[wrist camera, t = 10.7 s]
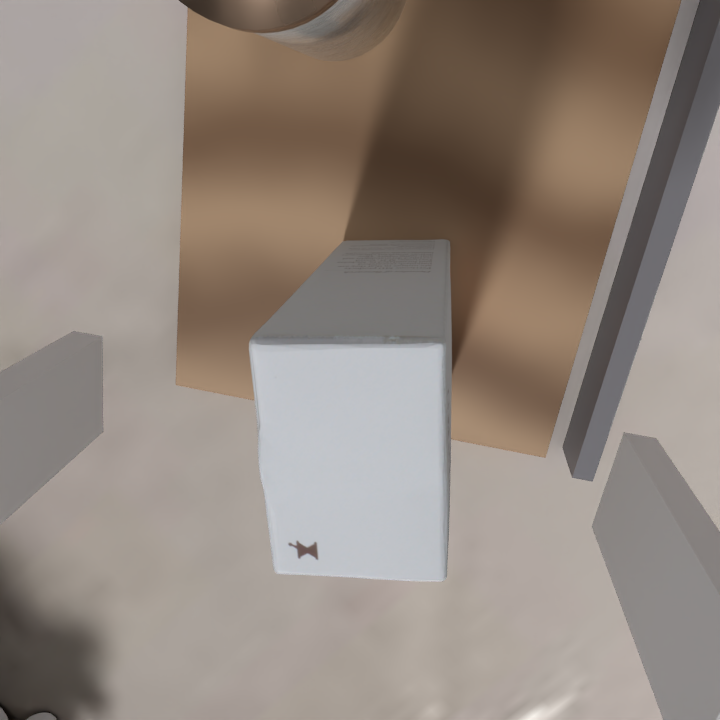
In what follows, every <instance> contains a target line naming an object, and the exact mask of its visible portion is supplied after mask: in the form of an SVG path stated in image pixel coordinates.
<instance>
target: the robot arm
mask: <svg viewBox="0 0 720 720" xmlns="http://www.w3.org/2000/svg"><path fill="white" fill-rule="evenodd" d="M102 432H103V352H102V336H98V335H92V334H87V333H81V332H76V331H73V332H71V333H69V334H67V335H66V336H64V337H62V338H60V339H59V340H57V341H55V342H53V343H51V344H50V345H48V346H46V347H44V348H42V349H41V350H39V351H37V352H35V353H33V354H32V355H30V356H28V357H26V358H25V359H23V360H21V361H19V362H17V363H16V364H14V365H12V366H10V367H8V368H7V369H5V370H3V371H1V372H0V525H1V524H2V523H3V522H4V521H5V520H6V519H7V518H8V517H9V516H10V515H12V514H13V513H14V512H15V511H16V510H17V509H18V508H19V507H20V506H22V505H23V504H24V503H25V502H26V501H27V500H28V499H29V498H30V497H32V496H33V495H34V494H35V493H36V492H37V491H38V490H39V489H40V488H41V487H43V486H44V485H45V484H46V483H47V482H48V481H49V480H50V479H51V478H53V477H54V476H55V475H56V474H57V473H58V472H59V471H60V470H61V469H62V468H64V467H65V466H66V465H67V464H68V463H69V462H70V461H71V460H72V459H74V458H75V457H76V456H77V455H78V454H79V453H80V452H81V451H82V450H83V449H85V448H86V447H87V446H88V445H89V444H90V443H91V442H92V441H93V440H95V439H96V438H97V437H98V436H99V435H100V434H101V433H102ZM592 528H593V531H594V534H595V536H596V539H597V542H598V544H599V547H600V550H601V553H602V555H603V558H604V561H605V563H606V566H607V569H608V571H609V574H610V577H611V580H612V582H613V585H614V588H615V590H616V593H617V596H618V598H619V601H620V604H621V607H622V609H623V612H624V615H625V617H626V620H627V623H628V625H629V628H630V631H631V634H632V636H633V639H634V642H635V644H636V647H637V650H638V652H639V655H640V658H641V661H642V663H643V666H644V669H645V671H646V674H647V677H648V679H649V682H650V685H651V688H652V690H653V693H654V696H655V698H656V701H657V704H658V706H659V709H660V712H661V715H662V717H663V720H720V531H719V530H718V528H717V527H716V525H715V524H714V523H713V521H712V520H711V518H710V517H709V515H708V514H707V512H706V511H705V509H704V508H703V506H702V505H701V503H700V502H699V500H698V499H697V497H696V496H695V495H694V493H693V492H692V490H691V489H690V487H689V486H688V484H687V483H686V481H685V480H684V478H683V477H682V475H681V474H680V472H679V471H678V470H677V468H676V467H675V465H674V464H673V462H672V461H671V459H670V458H669V456H668V455H667V453H666V452H665V450H664V449H663V447H662V446H661V445H660V443H659V442H658V440H657V439H656V438H652V437H647V436H641V435H636V434H630V433H625V432H624V434H623V437H622V440H621V443H620V445H619V448H618V451H617V454H616V457H615V460H614V463H613V466H612V469H611V472H610V475H609V478H608V481H607V483H606V486H605V489H604V492H603V495H602V498H601V501H600V504H599V507H598V510H597V513H596V516H595V519H594V521H593V524H592Z"/></svg>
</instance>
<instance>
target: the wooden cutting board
mask: <svg viewBox="0 0 720 720" xmlns="http://www.w3.org/2000/svg"><path fill="white" fill-rule="evenodd" d="M680 3H681V0H406V3H405V6H404V9H403V11H402V13H401V15H400V18H399V20H398V21H397V23H396V25H395V26H394V28H393V29H392V31H391V32H390V33H389V34H388V36H387V37H386V38H385V39H384V40H383V41H382V42H381V43H380V44H379V45H378V46H376V47H375V48H374V49H372V50H371V51H369V52H367V53H365V54H364V55H362V56H359V57H356V58H354V59H350V60H345V61H324V60H320V59H316V58H313V57H310V56H308V55H305V54H303V53H301V52H298V51H296V50H293V49H291V48H289V47H286V46H284V45H281V44H279V43H277V42H274V41H272V40H269V39H267V38H265V37H262V36H260V35H258V34H255V33H250V32H244V31H240V30H235V29H232V28H229V27H226V26H224V25H221V24H218V23H216V22H213V21H211V20H208V19H206V18H205V17H203V16H201V15H199V14H197V13H196V12H194V11H192V10H191V9H190V8H188V18H187V49H186V80H185V111H184V142H183V174H182V205H181V236H180V267H179V299H178V330H177V361H176V385H179V386H184V387H189V388H194V389H199V390H204V391H209V392H214V393H219V394H224V395H229V396H234V397H239V398H245V399H250V400H254V390H253V382H252V373H251V364H250V355H249V342H250V339H251V337H252V336H253V335H254V334H255V333H256V332H257V331H258V330H259V329H260V328H261V327H262V326H263V325H264V324H265V323H266V322H267V321H268V320H269V319H270V318H271V317H272V316H273V315H274V314H275V313H276V312H277V311H278V310H279V308H280V307H281V306H282V305H283V304H284V303H285V302H286V301H287V300H288V299H289V298H290V297H291V296H292V295H293V294H294V293H295V292H296V291H297V290H298V289H299V288H300V286H301V285H302V284H303V283H304V282H305V281H306V280H307V279H308V278H309V277H310V276H311V275H312V274H313V272H314V271H315V270H316V269H317V268H318V267H319V266H320V265H321V264H322V263H323V262H324V261H325V260H326V259H327V257H328V256H329V255H330V254H331V253H332V252H333V251H334V250H335V249H336V248H337V247H338V246H339V245H340V244H341V243H342V242H343V241H354V240H436V239H445V240H449V241H450V280H451V322H452V395H451V439H453V440H458V441H463V442H468V443H473V444H478V445H483V446H488V447H493V448H499V449H504V450H509V451H514V452H519V453H524V454H529V455H534V456H539V457H544V458H545V457H546V454H547V450H548V447H549V444H550V440H551V437H552V433H553V430H554V427H555V423H556V420H557V417H558V413H559V410H560V407H561V403H562V400H563V397H564V393H565V390H566V386H567V383H568V380H569V376H570V373H571V370H572V366H573V363H574V360H575V356H576V353H577V349H578V346H579V343H580V339H581V336H582V333H583V329H584V326H585V323H586V319H587V316H588V313H589V309H590V306H591V302H592V299H593V296H594V292H595V289H596V286H597V282H598V279H599V276H600V272H601V269H602V265H603V262H604V259H605V255H606V252H607V249H608V245H609V242H610V239H611V235H612V232H613V229H614V225H615V222H616V218H617V215H618V212H619V208H620V205H621V202H622V198H623V195H624V192H625V188H626V185H627V181H628V178H629V175H630V171H631V168H632V165H633V161H634V158H635V155H636V151H637V148H638V145H639V141H640V138H641V134H642V131H643V128H644V124H645V121H646V118H647V114H648V111H649V108H650V104H651V101H652V98H653V94H654V91H655V87H656V84H657V81H658V77H659V74H660V71H661V67H662V64H663V61H664V57H665V54H666V50H667V47H668V44H669V40H670V37H671V34H672V30H673V27H674V24H675V20H676V17H677V14H678V10H679V7H680Z"/></svg>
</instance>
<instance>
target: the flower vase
mask: <svg viewBox="0 0 720 720" xmlns="http://www.w3.org/2000/svg"><path fill="white" fill-rule="evenodd" d="M0 720H8V717H7V715H6V714H5V712H4V711H3V709H2V708H1V707H0ZM26 720H57V719H56V717H55V716H53V715H52V714H51V713H44V712H43V713H38V714H34V715H33V716H30V717H29V718H27V719H26Z"/></svg>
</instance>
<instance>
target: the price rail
mask: <svg viewBox="0 0 720 720" xmlns="http://www.w3.org/2000/svg"><path fill="white" fill-rule="evenodd" d="M719 106H720V0H700V3H699V6H698V10H697V13H696V16H695V19H694V23H693V26H692V29H691V32H690V36H689V39H688V42H687V45H686V49H685V52H684V55H683V58H682V62H681V65H680V68H679V71H678V75H677V78H676V81H675V84H674V88H673V91H672V94H671V97H670V101H669V104H668V107H667V110H666V114H665V117H664V120H663V123H662V127H661V130H660V133H659V136H658V140H657V143H656V146H655V149H654V153H653V156H652V159H651V162H650V165H649V169H648V172H647V175H646V178H645V182H644V185H643V188H642V191H641V195H640V198H639V201H638V204H637V208H636V211H635V214H634V217H633V221H632V224H631V227H630V230H629V234H628V237H627V240H626V243H625V247H624V250H623V253H622V256H621V260H620V263H619V266H618V269H617V273H616V276H615V279H614V282H613V286H612V289H611V292H610V295H609V299H608V302H607V305H606V308H605V312H604V315H603V318H602V321H601V325H600V328H599V331H598V334H597V338H596V341H595V344H594V347H593V351H592V354H591V357H590V360H589V364H588V367H587V370H586V373H585V377H584V380H583V383H582V386H581V390H580V393H579V396H578V399H577V403H576V406H575V409H574V412H573V416H572V419H571V422H570V425H569V429H568V432H567V435H566V438H565V442H564V445H563V451H564V454H565V457H566V460H567V463H568V466H569V469H570V472H571V475H572V478H577V479H582V480H587V481H592V482H593V479H594V476H595V473H596V470H597V467H598V464H599V461H600V458H601V455H602V452H603V449H604V446H605V444H606V441H607V438H608V435H609V432H610V429H611V426H612V423H613V420H614V417H615V414H616V412H617V409H618V406H619V403H620V400H621V397H622V394H623V391H624V388H625V385H626V382H627V379H628V376H629V373H630V370H631V367H632V364H633V361H634V358H635V355H636V352H637V349H638V346H639V343H640V340H641V337H642V334H643V331H644V329H645V326H646V323H647V320H648V317H649V314H650V311H651V308H652V305H653V302H654V299H655V296H656V293H657V290H658V287H659V283H660V280H661V277H662V275H663V272H664V269H665V266H666V263H667V260H668V257H669V254H670V251H671V248H672V245H673V242H674V239H675V236H676V233H677V230H678V227H679V224H680V221H681V218H682V215H683V212H684V209H685V206H686V203H687V200H688V197H689V194H690V191H691V189H692V186H693V183H694V180H695V177H696V174H697V171H698V168H699V166H700V163H701V160H702V157H703V154H704V151H705V148H706V145H707V142H708V139H709V136H710V133H711V130H712V127H713V124H714V121H715V118H716V115H717V112H718V109H719Z"/></svg>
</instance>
